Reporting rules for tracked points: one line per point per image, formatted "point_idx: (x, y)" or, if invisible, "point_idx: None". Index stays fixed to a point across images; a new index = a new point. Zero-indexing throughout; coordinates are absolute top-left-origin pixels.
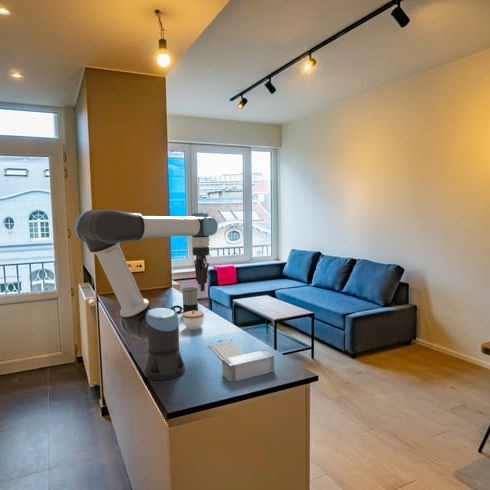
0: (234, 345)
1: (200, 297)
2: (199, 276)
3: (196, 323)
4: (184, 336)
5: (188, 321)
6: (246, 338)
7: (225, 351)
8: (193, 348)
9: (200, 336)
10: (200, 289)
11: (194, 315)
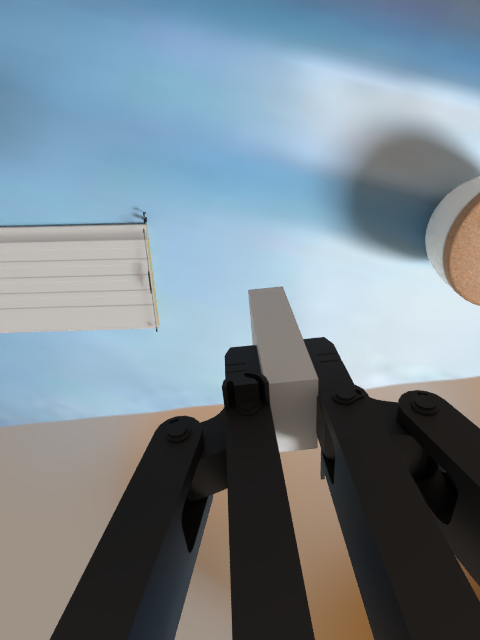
0: (109, 324)
1: (249, 303)
2: (286, 502)
3: (429, 237)
4: (362, 140)
5: (462, 194)
6: (199, 389)
7: (46, 270)
8: (158, 140)
9: (317, 222)
10: (257, 351)
11: (466, 242)
